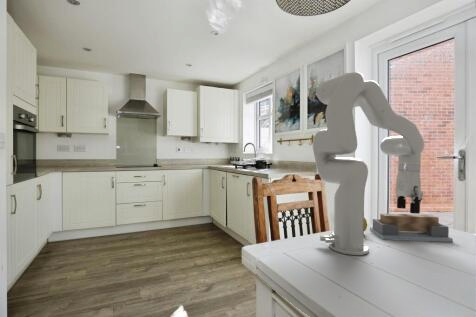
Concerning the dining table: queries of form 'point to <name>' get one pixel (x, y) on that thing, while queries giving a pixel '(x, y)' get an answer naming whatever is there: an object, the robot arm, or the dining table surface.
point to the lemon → (365, 224)
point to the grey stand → (393, 232)
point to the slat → (410, 221)
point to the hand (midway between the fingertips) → (407, 210)
